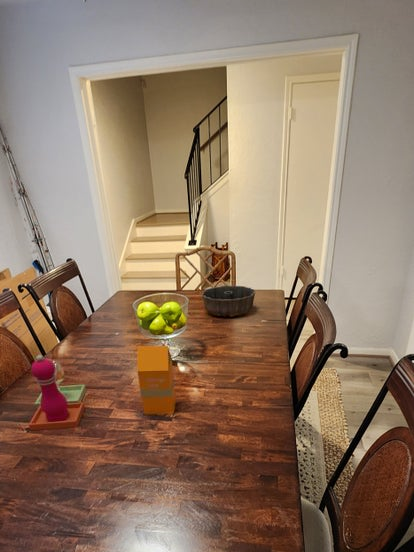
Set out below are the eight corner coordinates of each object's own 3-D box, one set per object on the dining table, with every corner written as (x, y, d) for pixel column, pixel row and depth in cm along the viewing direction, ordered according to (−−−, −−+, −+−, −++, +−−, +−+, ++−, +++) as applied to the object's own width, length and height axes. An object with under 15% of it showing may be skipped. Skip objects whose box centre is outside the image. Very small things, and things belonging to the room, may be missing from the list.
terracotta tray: (30, 430, 105) (28, 424, 104) (41, 410, 113) (39, 405, 112) (77, 427, 105) (75, 421, 104) (85, 407, 114) (83, 402, 113)
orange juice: (148, 400, 116) (139, 341, 105) (176, 400, 115) (170, 340, 105) (144, 414, 109) (133, 352, 99) (173, 414, 109) (166, 351, 98)
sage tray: (36, 409, 114) (34, 403, 113) (46, 392, 123) (44, 387, 122) (79, 405, 115) (77, 400, 114) (86, 389, 124) (84, 384, 123)
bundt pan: (200, 305, 196) (199, 286, 191) (249, 302, 198) (249, 283, 193) (205, 322, 174) (204, 301, 168) (260, 318, 175) (261, 297, 170)
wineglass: (56, 404, 115) (46, 370, 109) (49, 397, 119) (38, 364, 113) (73, 397, 118) (64, 363, 112) (66, 391, 122) (57, 358, 116)
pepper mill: (64, 407, 113) (46, 347, 103) (75, 416, 109) (57, 354, 98) (41, 417, 109) (20, 355, 99) (51, 427, 105) (31, 363, 94)
